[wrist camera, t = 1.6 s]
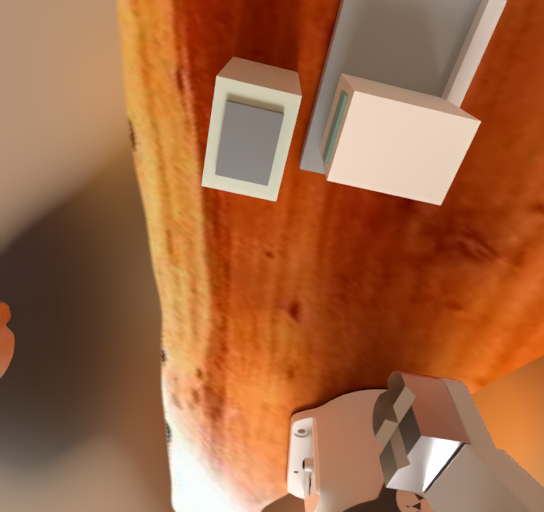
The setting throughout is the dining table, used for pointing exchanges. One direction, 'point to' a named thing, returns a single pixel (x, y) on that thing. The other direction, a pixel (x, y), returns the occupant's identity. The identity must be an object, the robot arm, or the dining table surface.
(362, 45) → the rail board
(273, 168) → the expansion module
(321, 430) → the robot arm
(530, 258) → the dining table surface
